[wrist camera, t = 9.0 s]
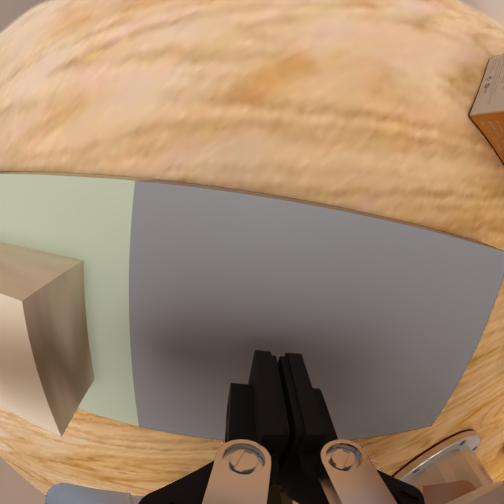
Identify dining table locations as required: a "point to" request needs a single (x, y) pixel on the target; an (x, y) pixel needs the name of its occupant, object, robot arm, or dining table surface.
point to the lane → (256, 298)
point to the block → (43, 336)
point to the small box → (491, 104)
